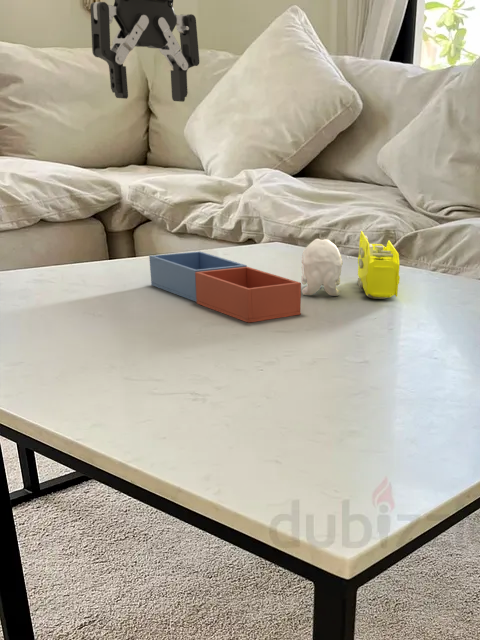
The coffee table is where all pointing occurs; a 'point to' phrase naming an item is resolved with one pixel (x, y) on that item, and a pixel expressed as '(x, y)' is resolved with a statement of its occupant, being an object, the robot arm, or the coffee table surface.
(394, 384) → the coffee table surface
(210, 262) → the blue bin
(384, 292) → the yellow toy chassis
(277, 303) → the red bin
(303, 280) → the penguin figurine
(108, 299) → the coffee table surface
